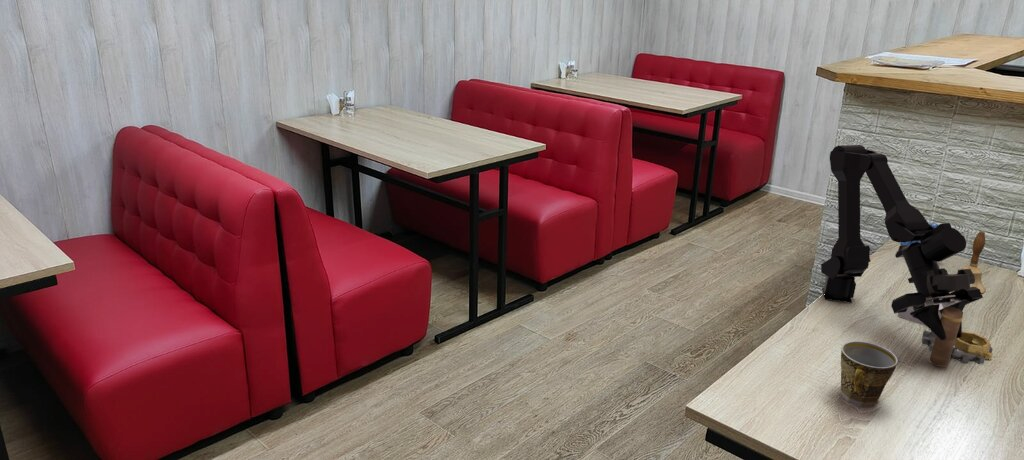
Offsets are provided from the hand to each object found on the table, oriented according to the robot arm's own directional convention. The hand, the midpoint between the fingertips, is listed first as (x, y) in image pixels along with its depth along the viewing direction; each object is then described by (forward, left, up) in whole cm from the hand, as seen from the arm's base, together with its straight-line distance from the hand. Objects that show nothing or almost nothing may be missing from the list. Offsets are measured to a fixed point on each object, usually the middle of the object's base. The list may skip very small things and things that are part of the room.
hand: (951, 338), depth 150 cm
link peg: (-1, +1, -7) cm, 7 cm away
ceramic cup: (-20, -19, -8) cm, 28 cm away
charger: (+3, +28, -8) cm, 29 cm away
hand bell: (+17, +48, -8) cm, 52 cm away
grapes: (+9, +65, -8) cm, 66 cm away
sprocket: (+5, +11, -7) cm, 14 cm away
